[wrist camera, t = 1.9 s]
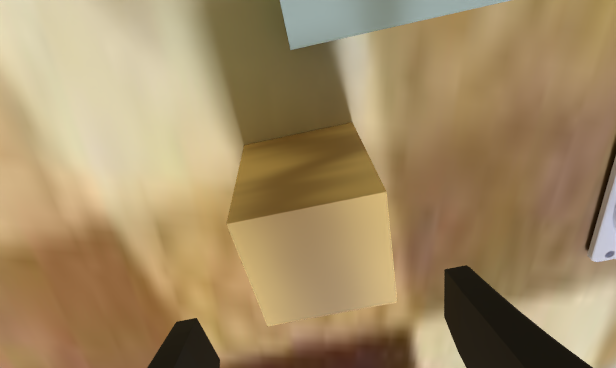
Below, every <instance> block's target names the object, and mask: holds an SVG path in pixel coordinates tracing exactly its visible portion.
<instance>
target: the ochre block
mask: <svg viewBox="0 0 616 368" xmlns="http://www.w3.org/2000/svg"><path fill="white" fill-rule="evenodd" d="M227 227H228V229H229V232H230V234H231V237H232V239H233V242H234V244H235V247H236V249H237V252H238V254H239V257H240V259H241V262H242V264H243V267H244V269H245V272H246V274H247V277H248V279H249V282H250V284H251V287H252V289H253V292H254V294H255V297H256V299H257V301H258V304H259V306H260V309H261V311H262V314H263V316H264V319H265V321H266V324H267V326H273V325H278V324H284V323H289V322H294V321H300V320H305V319H310V318H316V317H321V316H326V315H332V314H337V313H342V312H348V311H353V310H358V309H364V308H369V307H374V306H379V305H385V304H390V303H395V302H397V294H396V284H395V274H394V263H393V253H392V243H391V233H390V223H389V213H388V203H387V192H386V190H385V188H384V186H383V184H382V182H381V180H380V178H379V176H378V174H377V172H376V170H375V168H374V165H373V163H372V161H371V159H370V157H369V155H368V153H367V151H366V149H365V147H364V145H363V143H362V141H361V139H360V137H359V135H358V133H357V131H356V129H355V127H354V125H353V123H352V122H351V123H347V124H342V125H337V126H332V127H328V128H323V129H318V130H314V131H309V132H304V133H299V134H295V135H290V136H285V137H281V138H276V139H271V140H267V141H262V142H257V143H252V144H248V145H244V148H243V153H242V157H241V162H240V166H239V171H238V175H237V179H236V184H235V188H234V193H233V197H232V202H231V206H230V211H229V215H228V219H227Z"/></svg>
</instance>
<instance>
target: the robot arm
mask: <svg viewBox="0 0 616 368" xmlns="http://www.w3.org/2000/svg"><path fill="white" fill-rule="evenodd" d="M588 257H589V258H590V259H591V260H592V261H594V262H600V261H605V260H611V259H616V156H615V160H614V163H613V167H612V170H611V174H610V177H609V181H608V184H607V188H606V191H605V195H604V198H603V202H602V205H601V209H600V212H599V216H598V219H597V223H596V226H595V230H594V233H593V237H592V240H591V244H590V247H589V251H588ZM444 317H445V320H446V322H447V325H448V327H449V330H450V332H451V335H452V337H453V340H454V342H455V345H456V347H457V350H458V352H459V354H460V356H461V358H462V360H463V362H464V364H465V366H466V368H593V367H591V366H590V365H588V364H587V363H586V362H584V361H583V360H582V359H580V358H579V357H578V356H576V355H575V354H573V353H572V352H571V351H569V350H568V349H567V348H565V347H564V346H563V345H561V344H560V343H559V342H557V341H556V340H555V339H554V338H552V337H551V336H550V335H548V334H547V333H546V332H545V331H543V330H542V329H541V328H540V327H538V326H537V325H536V324H535V323H533V322H532V321H531V320H530V319H529V318H527V317H526V316H525V315H524V314H522V313H521V312H520V311H519V310H518V309H516V308H515V307H514V306H513V305H512V304H510V303H509V302H508V301H507V300H506V299H505V298H503V297H502V296H501V295H500V294H499V293H498V292H497V291H495V290H494V289H493V288H492V287H491V286H490V285H489V284H487V283H486V282H485V281H484V280H483V279H482V278H481V277H480V276H479V275H477V274H476V273H475V272H474V271H473V270H472V269H471V268H470V267H468V266H467V265H466V266H461V267H455V268H450V269H445V296H444ZM148 368H220V359H219V357H218V355H217V353H216V352H215V350H214V348H213V346H212V344H211V343H210V341H209V339H208V337H207V336H206V334H205V332H204V330H203V328H202V327H201V325H200V323H199V321H198V319H197V318H194V319H189V320H184V321H179V322H176V324H175V325H174V327H173V328H172V330H171V331H170V333H169V334H168V336H167V337H166V339H165V341H164V342H163V344H162V345H161V347H160V349H159V350H158V352H157V353H156V355H155V357H154V358H153V360H152V361H151V363H150V364H149V366H148Z"/></svg>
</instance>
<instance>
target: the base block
mask: <svg viewBox="0 0 616 368" xmlns="http://www.w3.org/2000/svg"><path fill="white" fill-rule="evenodd" d="M505 1H510V0H280V4H281V8H282V13H283V18H284V22H285V27H286V31H287V36H288V41H289V45H290V50H293V49H298V48H302V47H307V46H311V45H316V44H320V43H324V42H329V41H333V40H338V39H342V38H346V37H351V36H355V35H360V34H364V33H369V32H373V31H377V30H382V29H386V28H391V27H395V26H399V25H404V24H408V23H413V22H417V21H421V20H426V19H430V18H435V17H439V16H444V15H448V14H452V13H457V12H461V11H466V10H470V9H474V8H479V7H483V6H488V5H492V4H497V3H501V2H505Z"/></svg>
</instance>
